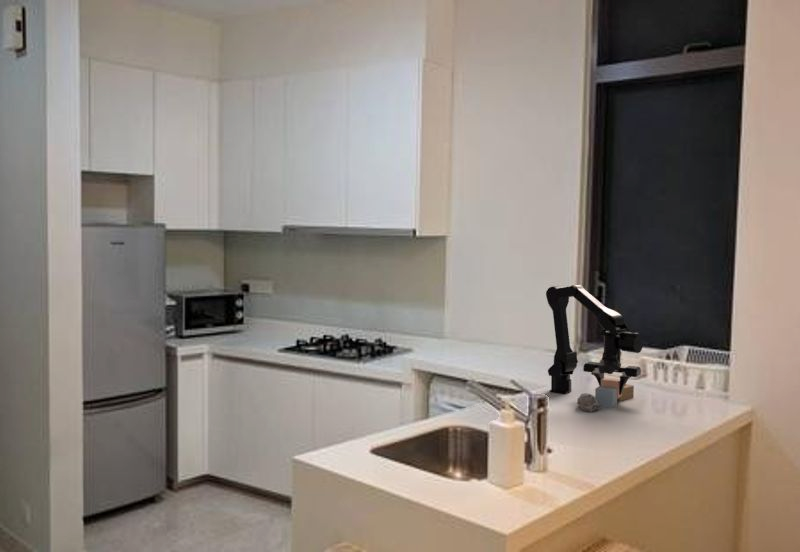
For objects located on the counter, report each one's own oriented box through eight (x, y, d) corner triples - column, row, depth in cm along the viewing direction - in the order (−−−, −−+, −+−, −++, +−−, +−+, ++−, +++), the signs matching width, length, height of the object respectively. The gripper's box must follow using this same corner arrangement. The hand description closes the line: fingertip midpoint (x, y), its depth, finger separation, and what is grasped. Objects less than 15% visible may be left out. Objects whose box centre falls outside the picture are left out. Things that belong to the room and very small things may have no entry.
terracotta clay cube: (600, 396, 253) (600, 379, 252) (605, 393, 257) (605, 377, 257) (617, 398, 249) (618, 381, 249) (622, 395, 254) (622, 379, 253)
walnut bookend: (602, 398, 260) (602, 386, 259) (616, 394, 266) (616, 382, 265) (620, 401, 254) (620, 389, 254) (633, 397, 260) (633, 385, 260)
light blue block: (595, 405, 248) (595, 388, 248) (599, 402, 252) (600, 385, 252) (612, 408, 245) (612, 390, 244) (617, 405, 249) (617, 387, 249)
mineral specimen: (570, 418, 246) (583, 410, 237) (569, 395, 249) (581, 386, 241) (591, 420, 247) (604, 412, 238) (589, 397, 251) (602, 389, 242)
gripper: (578, 350, 251) (577, 394, 252) (632, 355, 240) (631, 401, 241) (589, 345, 260) (588, 388, 261) (641, 350, 250) (640, 395, 251)
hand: (611, 393), depth 253 cm, fingers closed on terracotta clay cube, 6 cm apart
